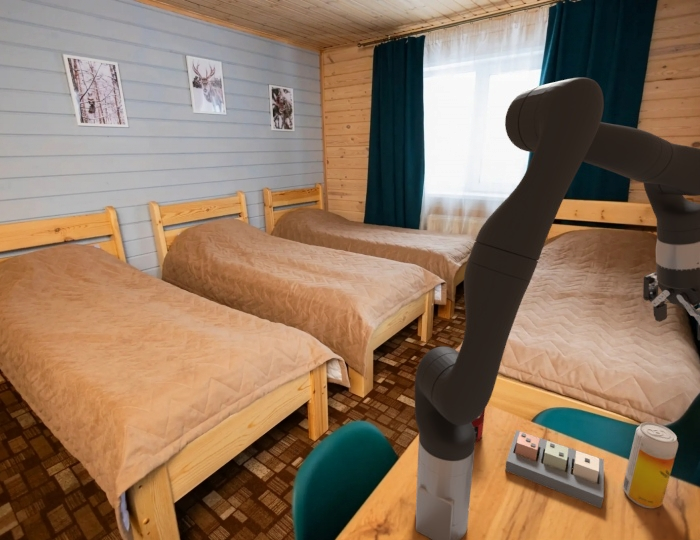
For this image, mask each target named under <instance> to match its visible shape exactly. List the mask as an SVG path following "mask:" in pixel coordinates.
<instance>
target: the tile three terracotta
mask: <svg viewBox="0 0 700 540" xmlns="http://www.w3.org/2000/svg"><path fill="white" fill-rule="evenodd" d="M529 434H530V433H527V434H526V432H524V433H523V431H521V432H520V433H519V436H518V439H517V443H516V450H515V454H518V455H520V456H523V457H526V458H529V459H531V460H534V461H537V457H538V456H537V452H538V447H539V441H540V438H541V437H539V438H538V436H536V435H533V436H532V434H530V435H529ZM535 436H536V437H535Z"/></svg>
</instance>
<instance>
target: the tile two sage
mask: <svg viewBox="0 0 700 540" xmlns="http://www.w3.org/2000/svg"><path fill="white" fill-rule="evenodd" d="M549 441H550V440H548V441H547V444H546V449H545V454H544V458H543V459H542V464H545V465H548V466H550V467H553V468H556V469H559V470H561V471H564V472H566V469H567V467H566V463H567V456H568V448H569V447H568V446H565V445H562V444H559V443H556V442H553V441H551V442H549ZM552 442H553V443H552ZM555 443H556V444H555ZM558 444H559V445H558ZM561 445H562V446H561ZM564 446H565V447H564ZM567 447H568V448H567Z"/></svg>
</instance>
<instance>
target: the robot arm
mask: <svg viewBox="0 0 700 540" xmlns="http://www.w3.org/2000/svg"><path fill="white" fill-rule="evenodd" d="M604 105H605V104H604V94H603V90H602V88H601V87H600V85H599V83H598V82H597V81H596V80H594V79H591V78H589V77H573V78H567V79H564V80H563V79H562V80H558V81H555V82H554V81H553V82H550V83H546V84H542V85H537V86H534V87H531V88H529V89H527V90H525V91H522V92H521V93H520V94H518V95H517V96H516V97H515V98H514V99H513V101H511V102H510V105H509V106H508V108H507V111H506V113H505V114H506V115H505V119H504V120H505V121H504V124H505V125H504V126H505V132H506V135H507V137H508V139H509V141H510V142H511V143H512V144H513V145H514V147H516V148H518V149H519V150H521V151H525V152H529V153H532V154H533V155H532V158H531V160H530V163H529V164H528V167H527V169H526V171H525V173H524V175H523V177H522V178H521V180H520V182H519V183H518V185H517V186H516V188H514V190H513V191H511V193H510V194H509V195H508V197H506V198H505V200H504V201H503V202H501V204H500V205H499V206H498V207H497V208H495V210H493V212H492V213H491V215H490V216H489V217H488V218H487V220H485V222H484V223H483V224H482V226H481V227H480V229H479V231H478V234H477V236H476V238H475V241H474V243H473V245H472V249H471V251H470V254H469V256H468V260H467V261H466V264H465V265H466V266H465V269H464V274H463V276H464V277H463V293H464V295H463V296H464V309H465V310H464V311H465V327H464V336H463V339H462V343H461V346H460V349H459V351H458V350H456V349H455V348H453V347H449V346H438V347H434V348H432V349H430V350H428V352H426V353H425V354H424V355H423V357H422V358H420V359H421V360H420V361H419V363H418V365H417V368H416V371H415V378H414V418H415V422H416V426H417V429H418V447H417V448H418V449H417V473H416V474H417V475H416V492H415V493H416V496H415V497H416V499H415V531H416V532H417V533H419V534H421V535H423V536H425V537H426V538H429V539H431V540H461V539H462V538H464V536H465V535H466V533H467V530H468V524H469V523H468V522H469V521H468V520H469V514H470V513H469V511H470V501H471V492H472V491H471V490H472V482H473V480H472V478H473V471H474V470H473V469H474V460H475V450H476V449H475V448H476V442H475V439H476V435H475V430H474V427H473V425H472V423H471V422H473V421H474V420H475V419H477V418H478V417H479V416H480V415H481V413H482V412H483V411H484V409H485V410H486V408H487V406H488V403H489V402H490V400H491V397H492V394H493V392H494V389H495V386H496V382H497V378H498V374H499V371H500V367H501V363H502V360H503V356H504V352H505V349H506V346H507V342H508V339H509V336H510V334H511V330H512V329H513V325H514V323H515V319H516V317H517V314H518V312H519V309H520V306H521V304H522V301H523V299H524V296H525V294H526V292H527V290H528V288H529V285H530V283H531V280H532V278H533V276H534V273H535V271H536V267H537V265H538V263H539V260H540V257H541V255H542V251H543V248H544V246H545V243H546V240H547V238H548V235H549V233H550V231H551V228H552V226H553V223H554V222H555V219H556V217H557V215H558V212H559V210H560V208H561V205H562V203H563V201H564V199H565V197H566V194H567V192H568V190H569V188H570V186H571V184H572V182H573V181H574V179H575V176H576V174H577V172H578V170H579V169H580V167H581V165H582V163H583V162H584V163H586V164H589V165H592V166H596V167H597V168H601V169H604V170H607V171H609V172H612V173H615V174H617V175H620V176H622V177H625V178H627V179H629V180H631V181H632V180H634V181H635V182H639V183H643V189H644V191H645V193H646V196H647V197H646V198H647V199H648V201H649V205H650V206H651V209H652V211H653V213H654V216H655V219H656V245H655V272H653V273H651V274H647V275H646V276H644V277H643V285H642V286H643V287H642V288H643V289H642V293H643V295H642V296H643V297H642V298H643V299H644V300H645V301H648V302H650V303H651V306H653V317H654V319H655V321H657V322H660V323H661V322H663V321H665V320H667V318H668V304H667V302H669V304H672V305H677V306H679V307H680V308H683V309H684V310H685V309H686V311H687V312H688V314H689V315H690V316H692V317H694V319H695V320H696V321H697V323H698V324H697V337H696V338H697V340H698V341H700V307H698V308H697V309H696V308H695V307H696V306H698V305H700V203H697V202H694V201H691V200H689V199H687V198H686V197H684V196H691V197H692V196H693V197H694V196H695V197H697V196H700V148H698V147H693V146H687V145H684V144H683V145H681V144H677V143H672V142H669V140H666V139H665V138H662V137H660V136H657V135H655V134H653V133H651V132H649V131H646V130H642V129H640V128H635V127H631V126H625V125H621V124H612V123H607V122H602V117H603V112H604V107H605V106H604ZM659 290H660V291H661V293H660V294H659Z"/></svg>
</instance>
